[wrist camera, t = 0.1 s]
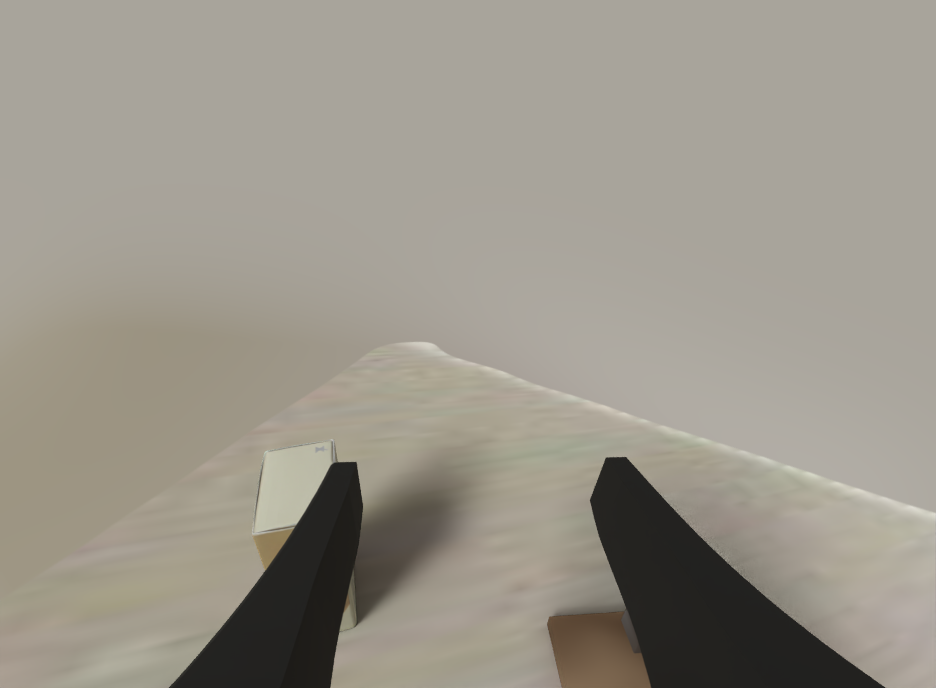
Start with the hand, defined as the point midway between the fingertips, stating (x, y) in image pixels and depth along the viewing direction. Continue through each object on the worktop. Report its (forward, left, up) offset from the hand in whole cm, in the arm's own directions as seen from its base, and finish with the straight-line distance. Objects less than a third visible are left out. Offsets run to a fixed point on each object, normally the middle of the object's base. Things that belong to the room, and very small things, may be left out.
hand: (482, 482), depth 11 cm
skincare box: (+9, +9, -22) cm, 25 cm away
